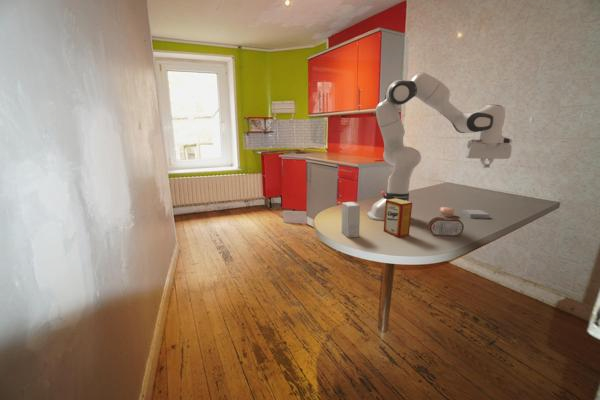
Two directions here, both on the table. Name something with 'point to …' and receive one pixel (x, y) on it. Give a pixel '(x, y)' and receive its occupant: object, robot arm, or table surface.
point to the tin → (445, 226)
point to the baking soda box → (397, 217)
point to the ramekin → (446, 211)
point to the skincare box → (350, 219)
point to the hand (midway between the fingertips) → (485, 167)
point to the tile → (475, 214)
